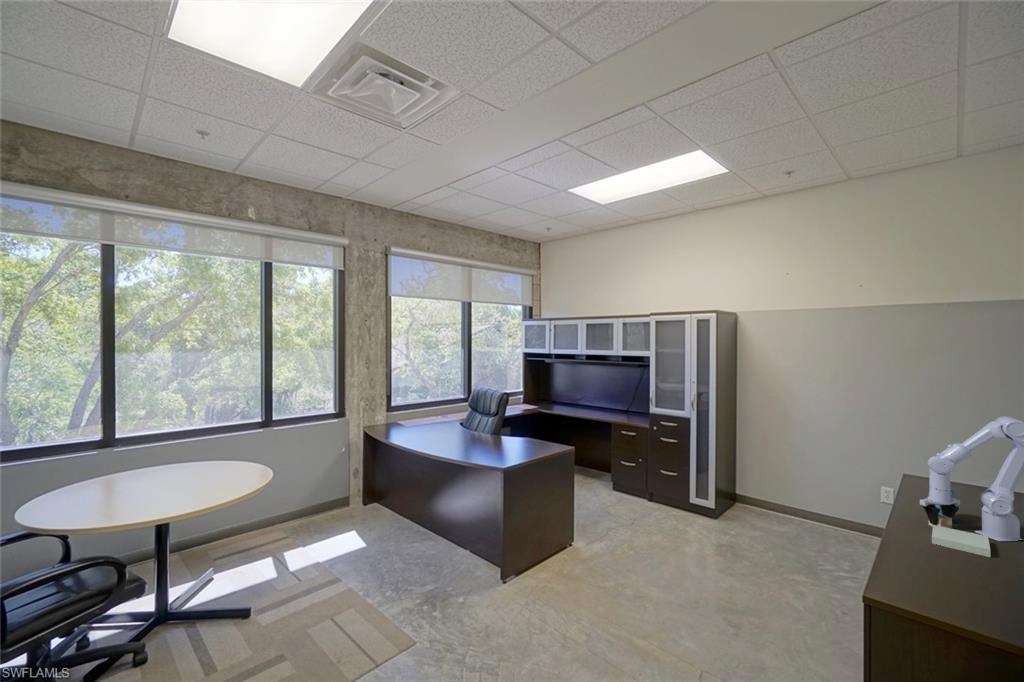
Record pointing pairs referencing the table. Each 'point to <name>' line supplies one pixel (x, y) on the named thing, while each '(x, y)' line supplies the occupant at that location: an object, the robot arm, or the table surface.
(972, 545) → the base board
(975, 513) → the table surface
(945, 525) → the maple block
